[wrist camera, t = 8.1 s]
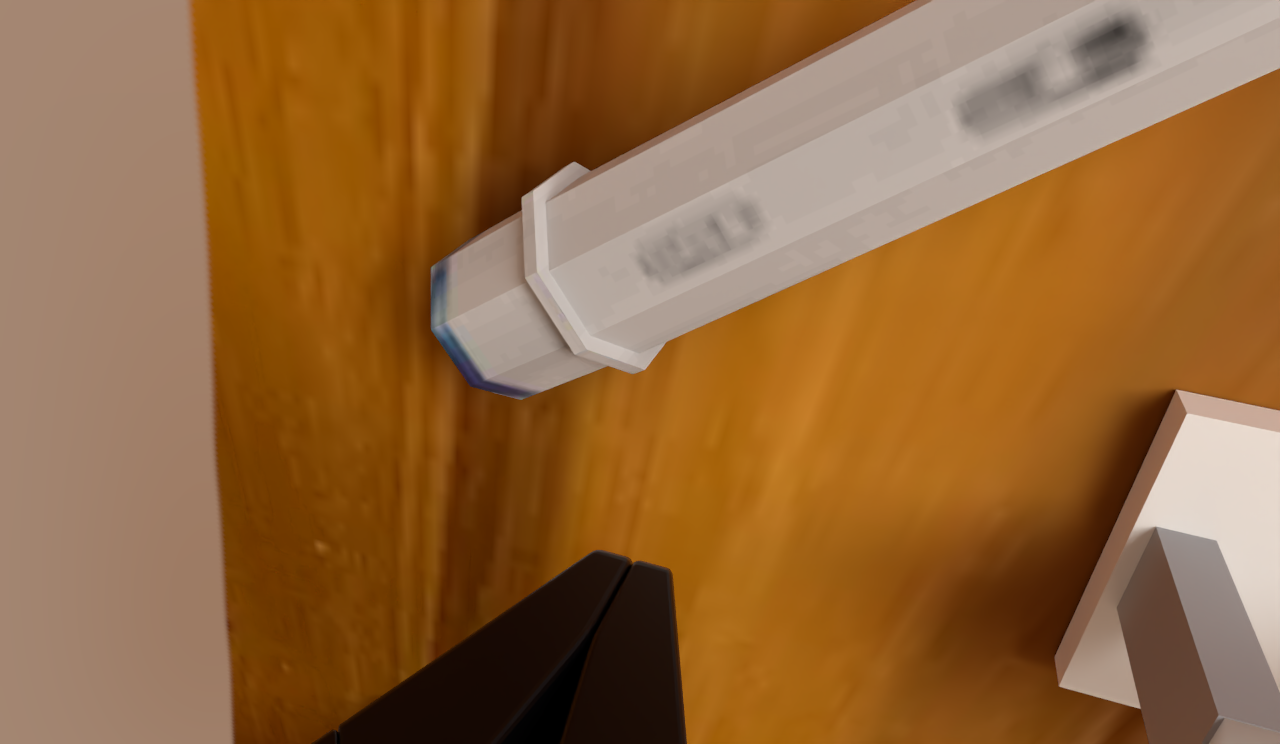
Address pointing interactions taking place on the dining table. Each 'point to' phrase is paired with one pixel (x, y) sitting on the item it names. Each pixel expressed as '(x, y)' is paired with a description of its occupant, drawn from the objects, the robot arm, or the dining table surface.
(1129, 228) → the dining table surface
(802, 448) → the dining table surface
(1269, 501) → the pipe stand
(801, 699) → the dining table surface
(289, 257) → the dining table surface
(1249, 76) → the light grey long piece
